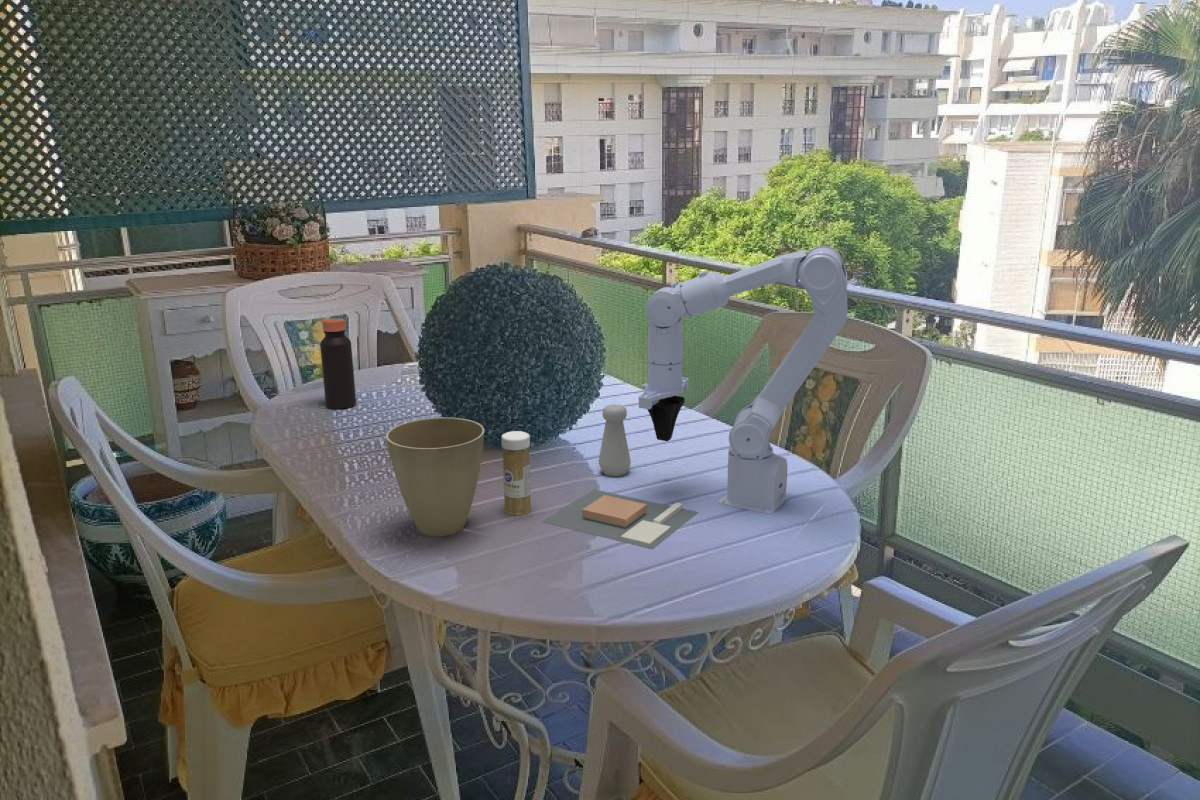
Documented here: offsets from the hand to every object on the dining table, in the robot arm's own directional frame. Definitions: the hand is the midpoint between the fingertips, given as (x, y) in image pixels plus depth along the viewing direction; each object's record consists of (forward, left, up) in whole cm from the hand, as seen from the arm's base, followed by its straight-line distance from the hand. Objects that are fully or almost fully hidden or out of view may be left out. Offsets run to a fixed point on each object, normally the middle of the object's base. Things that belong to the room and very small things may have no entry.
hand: (664, 439), depth 154 cm
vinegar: (+89, -11, -10) cm, 90 cm away
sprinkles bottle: (+17, +19, -10) cm, 27 cm away
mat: (+1, +13, -10) cm, 16 cm away
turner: (-6, +13, -10) cm, 17 cm away
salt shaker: (+12, -4, -10) cm, 16 cm away
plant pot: (+24, +30, -10) cm, 40 cm away
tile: (+2, +10, -9) cm, 13 cm away
